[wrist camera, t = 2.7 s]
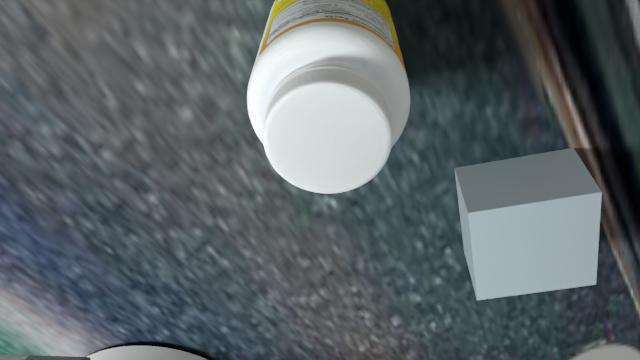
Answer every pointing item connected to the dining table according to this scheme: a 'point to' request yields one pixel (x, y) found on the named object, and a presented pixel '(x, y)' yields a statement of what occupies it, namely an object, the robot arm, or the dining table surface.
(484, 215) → the greyblue block
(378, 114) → the supplement bottle
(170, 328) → the dining table surface
